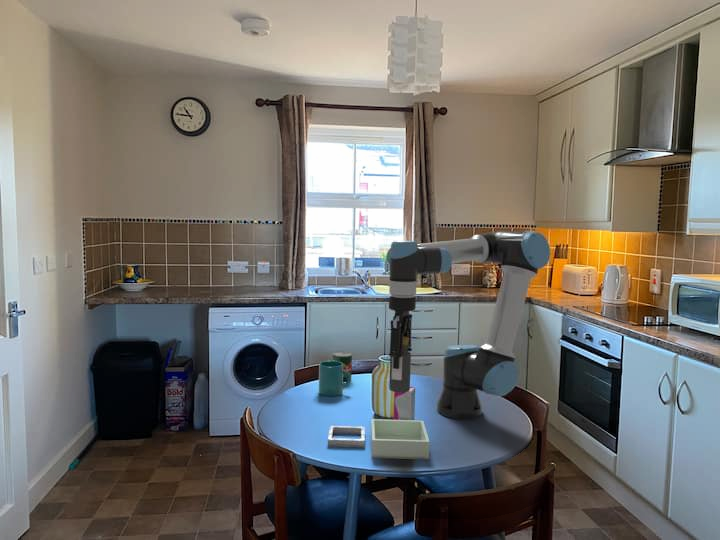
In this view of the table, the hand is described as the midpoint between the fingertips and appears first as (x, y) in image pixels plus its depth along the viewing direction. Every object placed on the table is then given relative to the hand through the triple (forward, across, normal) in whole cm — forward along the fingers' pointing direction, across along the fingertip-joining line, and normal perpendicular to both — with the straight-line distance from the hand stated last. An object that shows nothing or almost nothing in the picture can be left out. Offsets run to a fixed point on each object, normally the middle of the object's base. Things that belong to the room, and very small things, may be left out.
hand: (400, 376), depth 151 cm
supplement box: (+21, -19, -4) cm, 28 cm away
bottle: (+4, 0, 0) cm, 4 cm away
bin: (+21, 0, 0) cm, 21 cm away
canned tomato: (+21, -53, -40) cm, 70 cm away
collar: (+21, +2, -15) cm, 26 cm away
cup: (+21, -36, -36) cm, 55 cm away
